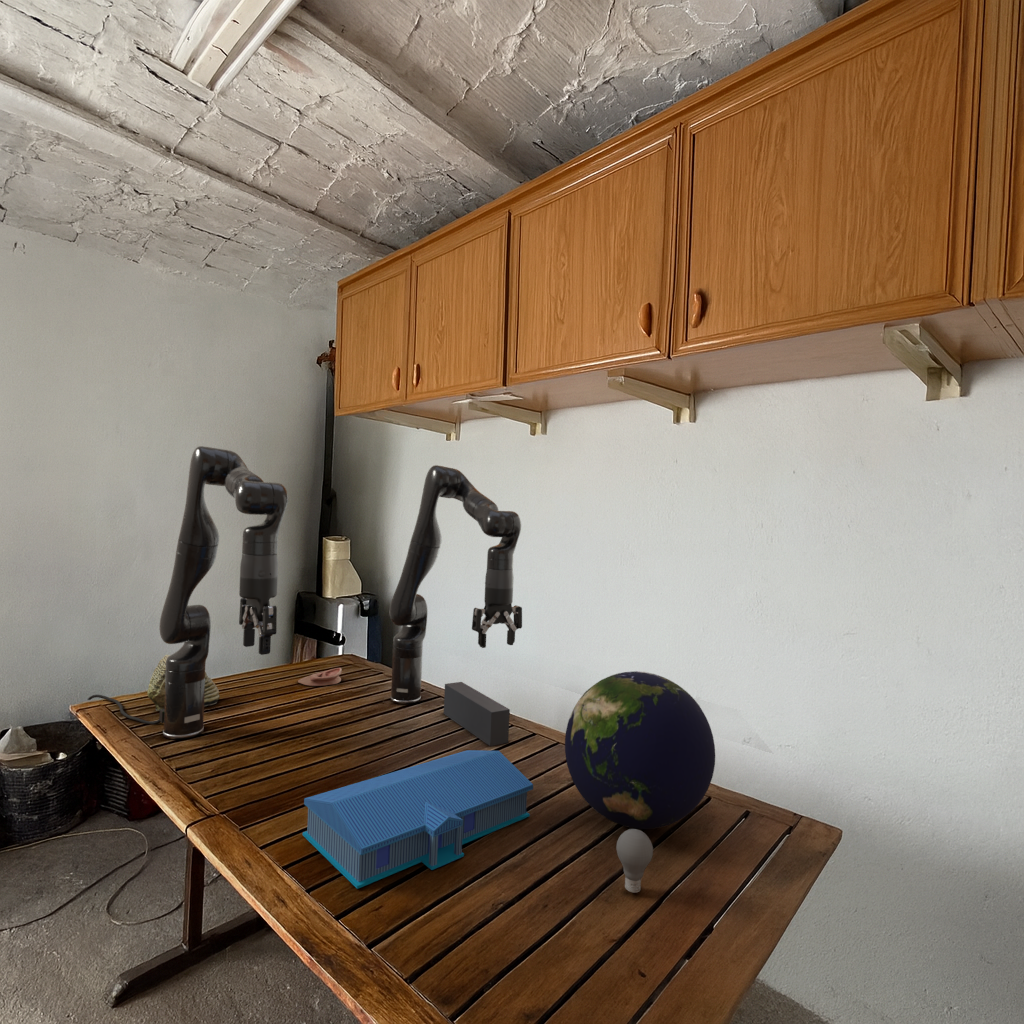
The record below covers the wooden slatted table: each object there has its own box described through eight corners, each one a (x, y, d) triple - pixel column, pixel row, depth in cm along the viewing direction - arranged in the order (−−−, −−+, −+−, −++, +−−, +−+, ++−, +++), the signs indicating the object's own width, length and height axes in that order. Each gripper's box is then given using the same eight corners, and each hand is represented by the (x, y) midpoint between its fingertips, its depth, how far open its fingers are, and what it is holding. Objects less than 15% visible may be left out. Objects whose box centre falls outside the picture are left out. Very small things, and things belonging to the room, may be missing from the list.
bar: (443, 713, 188) (444, 683, 188) (460, 711, 191) (461, 681, 191) (490, 746, 165) (491, 712, 165) (508, 742, 168) (509, 709, 168)
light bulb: (610, 879, 108) (613, 822, 108) (644, 879, 109) (647, 822, 109) (619, 902, 102) (622, 840, 102) (655, 901, 103) (658, 840, 103)
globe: (541, 837, 121) (548, 681, 121) (583, 776, 149) (589, 649, 148) (703, 878, 110) (712, 707, 109) (717, 804, 138) (723, 667, 137)
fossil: (144, 707, 182) (145, 655, 182) (212, 696, 194) (213, 647, 194) (151, 716, 175) (153, 662, 175) (221, 703, 188) (223, 653, 188)
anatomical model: (293, 672, 210) (311, 663, 221) (292, 684, 210) (310, 675, 221) (330, 676, 207) (346, 667, 219) (329, 688, 208) (345, 678, 219)
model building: (367, 898, 100) (369, 836, 100) (301, 833, 119) (303, 781, 118) (541, 822, 127) (543, 772, 127) (465, 778, 145) (467, 735, 145)
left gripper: (290, 577, 133) (287, 654, 134) (263, 570, 144) (260, 641, 144) (254, 579, 128) (251, 659, 128) (229, 572, 138) (226, 645, 139)
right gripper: (482, 588, 162) (480, 651, 162) (529, 586, 170) (526, 646, 170) (468, 584, 168) (466, 645, 169) (514, 582, 176) (511, 640, 176)
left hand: (256, 650), depth 136 cm, fingers open, 8 cm apart
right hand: (496, 645), depth 169 cm, fingers open, 8 cm apart
